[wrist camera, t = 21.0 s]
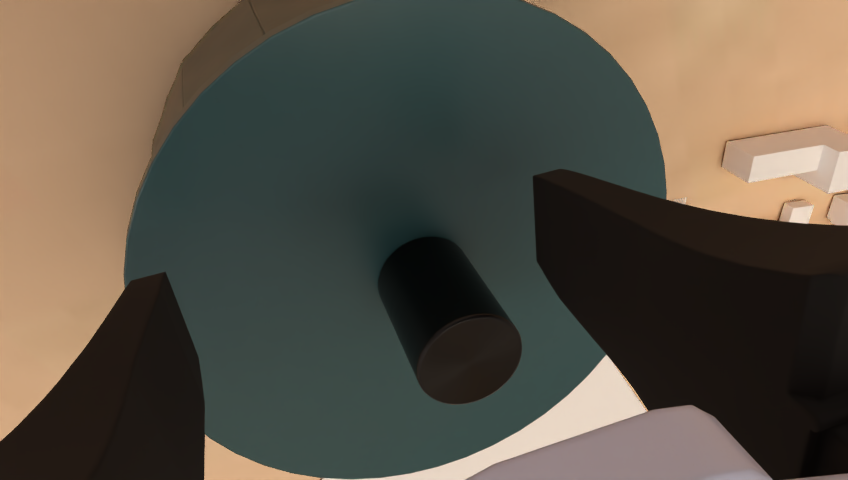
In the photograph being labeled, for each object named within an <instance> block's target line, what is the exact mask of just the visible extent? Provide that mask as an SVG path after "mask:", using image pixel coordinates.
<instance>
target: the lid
mask: <svg viewBox="0 0 848 480" xmlns="http://www.w3.org/2000/svg"><path fill="white" fill-rule="evenodd" d="M557 169H566V170H570V171H574V172H578V173H582V174H585V175H588V176H591V177H595V178H598V179H601V180H604V181H607V182H610V183H613V184H616V185H620V186H623V187H626V188H629V189H632V190H635V191H639V192H642V193H645V194H648V195H652V196H655V197H659V198H662V199H666V193H667V192H666V179H665V165H664V160H663V155H662V151H661V146H660V142H659V137H658V133H657V131H656V128H655V126H654V123H653V121H652V118H651V115H650V113H649V110H648V108H647V105H646V104H645V102H644V100H643V98H642V97H641V95H640V93H639V92H638V90H637V88H636V86H635V85H634V83H633V81H632V80H631V78H630V77H629V76H628V75H627V73H626V72H625V71H624V70H623V69H622V67H621V66H620V65H619V64H618V63H617V61H616V60H615V59H614V58H613V57H612V55H611V54H610V53H609V52H607V51H606V50H605V49H604V48H603V47H602V46H601V45H599V44H598V43H597V42H596V41H595V40H594V39H592V38H591V37H590V36H589V35H588V34H587V33H585V32H584V31H582V30H581V29H579V28H577V27H576V26H574V25H573V24H571V23H569V22H568V21H566V20H564V19H563V18H561V17H559V16H558V15H556V14H554V13H552V12H550V11H548V10H545V9H543V8H541V7H538V6H536V5H533V4H531V3H528V2H526V1H524V0H337V1H334V2H332V3H329V4H326V5H323V6H320V7H317V8H314V9H312V10H309V11H307V12H305V13H303V14H301V15H299V16H297V17H295V18H294V19H292V20H290V21H288V22H286V23H284V24H282V25H280V26H278V27H276V28H274V29H272V30H270V31H269V32H267V33H266V34H264V35H263V36H261V37H260V38H259V39H257V40H256V41H254V42H253V43H251V44H250V45H249V46H247V47H246V48H244V49H243V50H241V51H240V52H239V53H237V54H236V55H234V56H233V57H232V58H231V59H230V60H229V61H227V62H226V63H225V64H224V65H223V66H222V67H221V68H220V69H219V70H218V71H217V72H216V73H214V74H213V75H212V76H211V77H210V78H209V79H208V80H207V81H206V82H205V83H204V84H203V85H201V86H200V88H199V89H198V90H197V91H196V93H195V94H194V95H193V96H192V97H191V99H190V100H189V101H188V102H187V104H186V105H185V106H184V107H183V108H182V110H181V111H180V112H179V113H178V115H177V116H176V117H175V118H174V119H173V121H172V123H171V124H170V126H169V128H168V129H167V131H166V133H165V134H164V136H163V138H162V139H161V141H160V143H159V144H158V146H157V148H156V149H155V151H154V153H153V154H152V156H151V158H150V161H149V163H148V166H147V168H146V171H145V173H144V175H143V178H142V180H141V183H140V185H139V187H138V190H137V192H136V196H135V201H134V205H133V209H132V213H131V217H130V221H129V225H128V230H127V238H126V251H125V264H124V284H125V288H126V287H127V285H128V284H129V283H130V281H131V280H135V279H139V278H142V277H146V276H150V275H154V274H158V273H162V272H165V271H166V274H167V276H168V279H169V282H170V284H171V287H172V289H173V292H174V295H175V297H176V300H177V302H178V305H179V308H180V310H181V313H182V315H183V318H184V321H185V323H186V326H187V328H188V331H189V333H190V336H191V339H192V341H193V344H194V346H195V349H196V352H197V354H198V357H199V363H200V370H201V377H202V384H203V392H204V400H205V435H207V436H208V437H209V438H210V439H212V440H214V441H216V442H217V443H219V444H221V445H222V446H224V447H226V448H227V449H229V450H231V451H233V452H234V453H236V454H238V455H241V456H243V457H245V458H248V459H250V460H252V461H255V462H257V463H260V464H262V465H265V466H268V467H272V468H275V469H279V470H282V471H286V472H289V473H294V474H300V475H306V476H312V477H318V478H332V479H371V478H384V477H391V476H398V475H404V474H411V473H415V472H419V471H423V470H427V469H431V468H435V467H439V466H442V465H445V464H448V463H451V462H454V461H457V460H460V459H463V458H466V457H468V456H470V455H473V454H475V453H477V452H479V451H482V450H484V449H486V448H488V447H491V446H493V445H495V444H497V443H498V442H500V441H502V440H504V439H506V438H508V437H509V436H511V435H513V434H515V433H517V432H518V431H520V430H522V429H523V428H525V427H526V426H528V425H529V424H531V423H532V422H534V421H535V420H537V419H538V418H540V417H541V416H543V415H544V414H545V413H547V412H548V411H549V410H550V409H552V408H553V407H554V406H555V405H556V404H558V403H559V402H560V401H561V400H563V399H564V398H565V397H566V396H568V395H569V394H570V393H571V392H572V391H573V390H574V389H575V388H576V387H577V386H578V385H579V384H580V383H581V382H582V381H583V380H584V379H585V378H586V377H587V376H588V375H589V374H590V373H591V372H592V371H593V370H594V368H595V367H596V366H597V365H598V364H599V363H600V362H601V360H602V359H603V358H604V357H605V356H606V353H605V352H604V351H603V350H602V349H601V348H600V346H599V345H598V344H597V343H596V342H595V341H594V339H593V338H592V337H591V336H590V335H589V333H588V332H587V331H586V330H585V329H584V328H583V326H582V325H581V324H580V323H579V322H578V320H577V319H576V318H575V317H574V316H573V314H572V313H571V312H570V311H569V310H568V308H567V307H566V306H565V305H564V303H563V302H562V301H561V300H560V299H559V297H558V296H557V294H556V293H555V291H554V289H553V288H552V286H551V285H550V283H549V281H548V280H547V278H546V276H545V275H544V273H543V271H542V269H541V268H540V266H539V264H538V263H537V260H536V239H535V218H534V196H533V176H534V175H538V174H541V173H545V172H549V171H553V170H557Z"/></svg>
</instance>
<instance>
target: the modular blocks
mask: <svg viewBox="0 0 848 480" xmlns="http://www.w3.org/2000/svg"><path fill="white" fill-rule="evenodd" d="M722 168H724V169H726V170H727V171H729V172H731V173H732V174H734V175H736V176H737V177H739V178H740V179H742V180H744V181H745V182H747V183H751V182H756V181H762V180H767V179H773V178H778V177H783V176H789V175H795V176H796V177H798V178H800V179H802V180H804V181H806V182H807V183H809V184H811V185H813V186H815V187H817V188H818V189H820V190H822V191H824V192H826V193H828V194H829V193H834V192H839V191H845V190H848V134H846V133H844V132H842V131H839V130H837V129H835V128H832V127H830V126H828V125H825V126H819V127H813V128H807V129H801V130H795V131H789V132H783V133H777V134H770V135H764V136H758V137H752V138H746V139H740V140H734V141H728V142H727V143H726V148H725V153H724V158H723V163H722ZM686 199H687V197H686ZM681 200H682V198H681ZM676 201H677V199H676ZM684 201H685V203H686V200H685V198H684ZM788 201H789V200H788ZM788 201H787V202H788ZM790 201H791V200H790ZM793 201H794V200H793ZM674 202H675V201H674ZM679 202H680V199H679ZM677 203H678V201H677ZM680 203H681V202H680ZM682 203H683V200H682ZM683 204H684V203H683ZM813 207H814V205H813V204H811V203H809V202H808V201H806V200H802V201H795V202H788V203H784V206H783V209H782V212H781V216H780V219H779V221H784V222H794V223H805V224H809V220H810V216H811V213H812V210H813ZM827 218H828V219H830V220H831V221H830V222H831V223H832V224H834V225H848V193H847V194H840V195H834V197H833V200H832V203H831V206H830V209H829V212H828V215H827Z"/></svg>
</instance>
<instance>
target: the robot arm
mask: <svg viewBox="0 0 848 480" xmlns="http://www.w3.org/2000/svg"><path fill="white" fill-rule="evenodd" d="M533 196H534V218H535V239H536V260H537V263H538V264H539V266H540V268H541V269H542V271H543V273H544V275H545V276H546V278H547V280H548V281H549V283H550V285H551V286H552V288H553V289H554V291H555V293H556V294H557V296H558V297H559V299H560V300H561V301H562V302H563V303H564V305H565V306H566V307H567V308H568V310H569V311H570V312H571V313H572V314H573V316H574V317H575V318H576V319H577V320H578V322H579V323H580V324H581V325H582V326H583V328H584V329H585V330H586V331H587V332H588V333H589V335H590V336H591V337H592V338H593V339H594V341H595V342H596V343H597V344H598V345H599V346H600V348H601V349H602V350H603V351H604V352H605V353H606V355H607V356H608V357H609V358H610V359H611V361H612V362H613V363H614V364H615V365H616V366H617V368H618V369H619V370H620V371H621V373H622V374H623V375H624V376H625V378H626V379H627V380H628V382H629V383H630V384H631V386H632V387H633V388H634V390H635V391H636V393H637V394H638V396H639V397H640V399H641V400H642V402H643V403H644V405H645V406H646V408H647V409H648V411H647V412H645V413H642V414H639V415H636V416H633V417H630V418H627V419H624V420H621V421H618V422H615V423H612V424H609V425H606V426H604V427H601V428H598V429H595V430H592V431H589V432H586V433H583V434H580V435H577V436H574V437H571V438H568V439H565V440H563V441H560V442H557V443H554V444H551V445H548V446H545V447H542V448H539V449H536V450H533V451H530V452H527V453H524V454H522V455H519V456H516V457H513V458H510V459H507V460H504V461H501V462H498V463H495V464H493V465H491V466H489V467H487V468H485V469H484V470H482V471H480V472H478V473H476V474H474V475H473V476H471V477H469V478H467V479H465V480H848V225H821V224H805V223H794V222H784V221H774V220H765V219H757V218H750V217H744V216H738V215H732V214H727V213H721V212H716V211H711V210H706V209H701V208H697V207H693V206H689V205H685V204H681V203H677V202H673V201H669V200H666V199H662V198H659V197H655V196H652V195H648V194H645V193H642V192H639V191H635V190H632V189H629V188H626V187H623V186H620V185H616V184H613V183H610V182H607V181H604V180H601V179H598V178H595V177H591V176H588V175H585V174H582V173H578V172H574V171H570V170H566V169H557V170H553V171H549V172H545V173H541V174H538V175H534V176H533ZM204 449H205V400H204V392H203V384H202V377H201V370H200V363H199V357H198V354H197V352H196V349H195V346H194V344H193V341H192V339H191V336H190V333H189V331H188V328H187V326H186V323H185V321H184V318H183V315H182V313H181V310H180V308H179V305H178V302H177V300H176V297H175V295H174V292H173V289H172V287H171V284H170V282H169V279H168V276H167V274H166V271H165V272H162V273H158V274H154V275H150V276H146V277H142V278H139V279H135V280H131V281H130V283H129V284H128V285H127V287H126V288H125V290H124V291H123V293H122V294H121V296H120V297H119V299H118V300H117V302H116V303H115V305H114V306H113V308H112V309H111V311H110V312H109V314H108V315H107V317H106V318H105V320H104V321H103V323H102V324H101V326H100V327H99V329H98V330H97V332H96V333H95V334H94V336H93V337H92V339H91V340H90V342H89V343H88V344H87V346H86V347H85V349H84V350H83V351H82V352H81V354H80V355H79V356H78V357H77V359H76V360H75V361H74V362H73V364H72V365H71V366H70V368H69V369H68V370H67V371H66V373H65V374H64V375H63V376H62V378H61V379H60V380H59V382H58V383H57V384H56V385H55V386H54V387H53V389H52V390H51V391H50V392H49V393H48V394H47V395H46V397H45V398H44V399H43V400H42V401H41V402H40V403H39V404H38V405H37V406H36V407H35V408H34V409H33V410H32V411H31V412H30V413H29V415H28V416H27V417H26V418H25V419H24V420H23V421H22V422H21V423H20V424H19V425H18V426H17V427H16V428H15V429H14V430H13V431H12V432H11V433H9V434H8V435H7V436H6V437H5V438H4V439H3V440H2V441H0V480H204Z"/></svg>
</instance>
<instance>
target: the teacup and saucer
mask: <svg viewBox="0 0 848 480" xmlns="http://www.w3.org/2000/svg"><path fill="white" fill-rule="evenodd" d="M645 412H647V411H646V410H645V408H644V407H643V405H642V404H641V403H640V401H639V400H638V398H637V397H636V395H635V394H634V392H633V391H632V390H631V388H630V387H629V385H628V384H627V382H626V381H625V380H624V378H623V377H622V375H621V374H620V372H619V371H618V369H617V368H616V367H615V365H614V364H613V362H612V361H611V359H610V358H609V357H608V356H607V355H606V356H605V357H604V358H603V359H602V360H601V362H600V363H599V364H598V365H597V366H596V367H595V368H594V370H593V371H592V372H591V373H590V374H589V375H588V376H587V377H586V378H585V379H584V380H583V381H582V382H581V383H580V384H579V385H578V386H577V387H576V388H575V389H574V390H573V391H572V392H571V393H570V394H569V395H568V396H566V397H565V398H564V399H563V400H561V401H560V402H559V403H558V404H556V405H555V406H554V407H553V408H552V409H550V410H549V411H548V412H547V413H545V414H544V415H543V416H541V417H540V418H538V419H537V420H535V421H534V422H532V423H531V424H529V425H528V426H526V427H525V428H523V429H522V430H520V431H518V432H517V433H515V434H513V435H511V436H509V437H508V438H506V439H504V440H502V441H500V442H498V443H497V444H495V445H493V446H491V447H488V448H486V449H484V450H482V451H479V452H477V453H475V454H473V455H470V456H468V457H466V458H463V459H460V460H457V461H454V462H451V463H448V464H445V465H442V466H439V467H435V468H431V469H427V470H423V471H419V472H415V473H411V474H404V475H398V476H391V477H384V478H371V479H332V478H323V479H322V480H465V479H467V478H469V477H471V476H473V475H474V474H476V473H478V472H480V471H482V470H484V469H485V468H487V467H489V466H491V465H493V464H495V463H498V462H501V461H504V460H507V459H510V458H513V457H516V456H519V455H522V454H524V453H527V452H530V451H533V450H536V449H539V448H542V447H545V446H548V445H551V444H554V443H557V442H560V441H563V440H565V439H568V438H571V437H574V436H577V435H580V434H583V433H586V432H589V431H592V430H595V429H598V428H601V427H604V426H606V425H609V424H612V423H615V422H618V421H621V420H624V419H627V418H630V417H633V416H636V415H639V414H642V413H645Z"/></svg>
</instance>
